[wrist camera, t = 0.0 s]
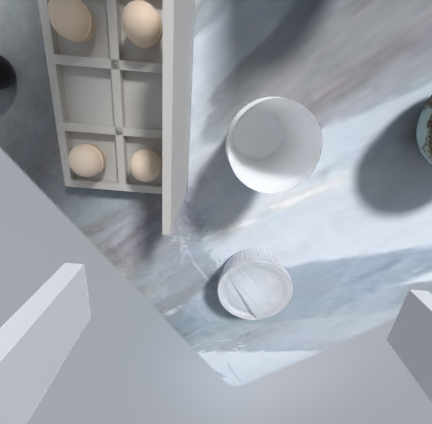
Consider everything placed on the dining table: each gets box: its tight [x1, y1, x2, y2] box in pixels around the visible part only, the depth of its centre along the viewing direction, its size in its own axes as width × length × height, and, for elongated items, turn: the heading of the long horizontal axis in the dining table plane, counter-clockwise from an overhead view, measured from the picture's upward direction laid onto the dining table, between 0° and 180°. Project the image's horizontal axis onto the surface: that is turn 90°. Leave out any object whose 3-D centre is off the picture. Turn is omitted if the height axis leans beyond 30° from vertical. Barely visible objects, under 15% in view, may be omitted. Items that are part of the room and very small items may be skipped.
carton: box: [38, 0, 195, 235], centre depth 27 cm, size 24×17×14 cm
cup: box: [226, 97, 322, 193], centre depth 30 cm, size 9×9×12 cm
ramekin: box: [217, 249, 293, 320], centre depth 41 cm, size 11×11×5 cm
